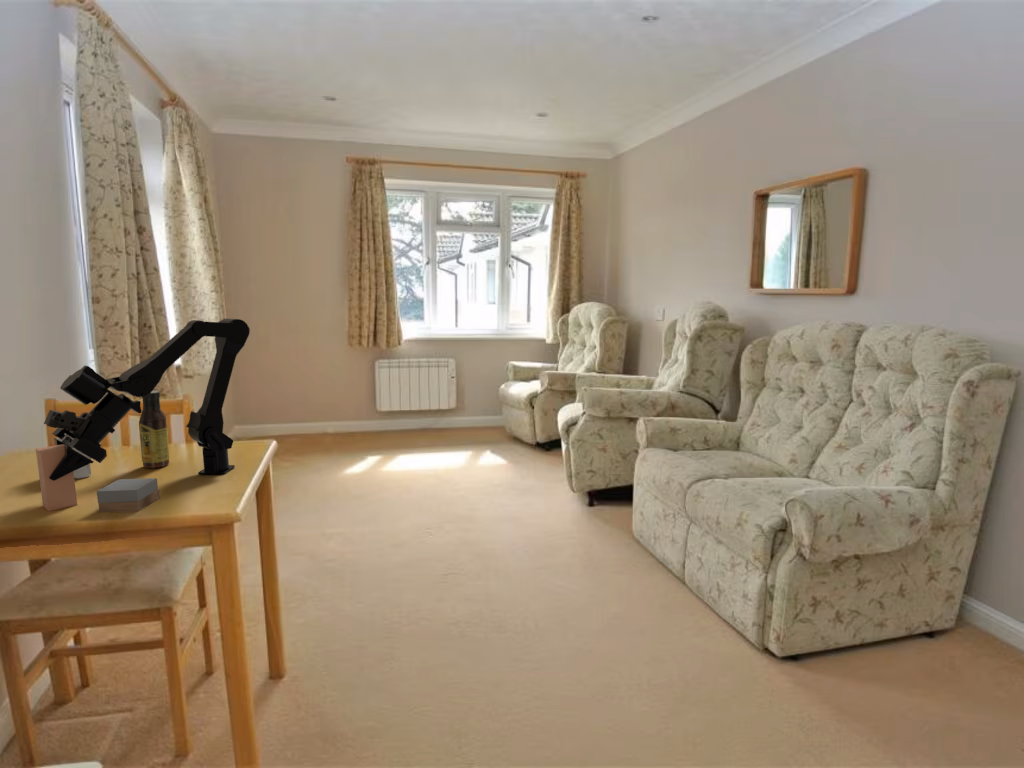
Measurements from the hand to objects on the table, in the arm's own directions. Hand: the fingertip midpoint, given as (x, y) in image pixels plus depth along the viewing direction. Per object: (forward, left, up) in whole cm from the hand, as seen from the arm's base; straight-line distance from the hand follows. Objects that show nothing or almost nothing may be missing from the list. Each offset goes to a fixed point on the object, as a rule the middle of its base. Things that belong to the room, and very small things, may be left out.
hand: (48, 476), depth 125 cm
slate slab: (-1, +16, -5) cm, 16 cm away
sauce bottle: (-30, +5, -7) cm, 31 cm away
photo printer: (-23, -11, -7) cm, 26 cm away
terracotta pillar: (-1, +1, -7) cm, 7 cm away
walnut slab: (-1, +16, -7) cm, 18 cm away
